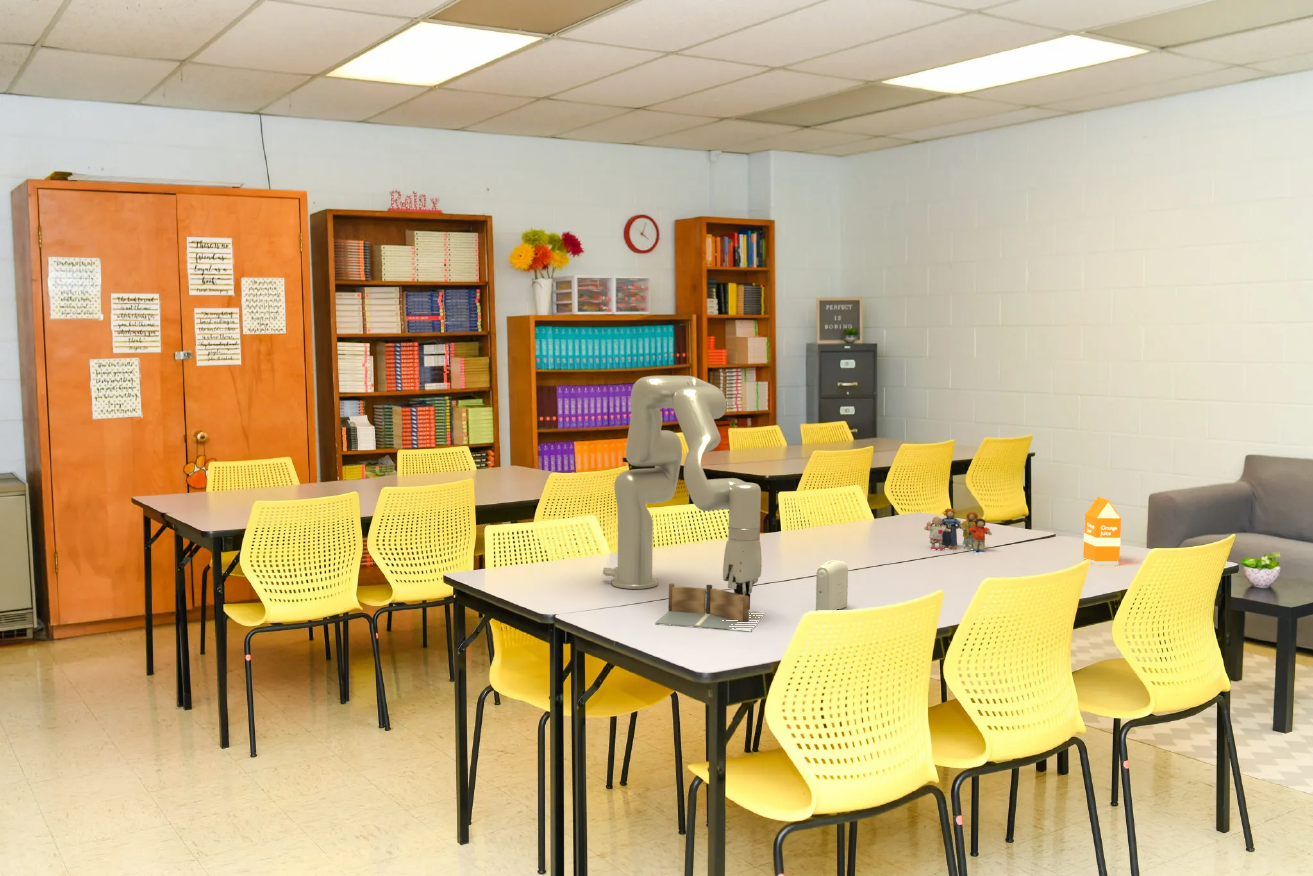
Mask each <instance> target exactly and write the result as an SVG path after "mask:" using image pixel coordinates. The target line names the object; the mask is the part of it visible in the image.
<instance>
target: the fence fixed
mask: <svg viewBox="0 0 1313 876" xmlns="http://www.w3.org/2000/svg"><path fill="white" fill-rule="evenodd" d="M705 586H706V588H704V587H702V588H701V587H692V586H691V587H689V586H677V585H676V586H675V583H668V605H667V609H668V610H667V612H668V611H675V612H688V613H701V614H705V608H706V614H710V590H711V589H713V584H706V585H705Z"/></svg>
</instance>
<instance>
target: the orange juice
mask: <svg viewBox="0 0 1313 876" xmlns="http://www.w3.org/2000/svg"><path fill="white" fill-rule="evenodd" d="M1121 526H1122V518H1121V516H1120V515H1119V513H1118V512H1117V510H1116V509H1115V508H1114V506H1113V504H1112V502H1111V500H1110V499H1107V498H1103V497H1100V496H1097V497H1096V498H1095V500H1094V501H1093V502H1092V504H1091V505H1090V506H1089V508H1088V509H1087V511H1086V512H1085V513H1084V528H1083V529H1084V532H1083V553H1082V554H1083V555H1082V556H1083V557H1084V558H1086V559H1091V560H1094V561H1117V560H1119V561H1120V555H1121V554H1120V553H1121V550H1120V549H1121V534H1122V533H1121V529H1122V527H1121ZM1086 559H1084V560H1086ZM1084 560H1083V561H1084Z"/></svg>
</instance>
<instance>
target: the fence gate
mask: <svg viewBox="0 0 1313 876" xmlns="http://www.w3.org/2000/svg"><path fill="white" fill-rule="evenodd" d="M749 612H750V610H749V596H745V595H741V594H736V593H734V592H732V591H727V590H723V589H717V588H715V587H714V588H713V587H712V589H711V590H710V614H714V615H718V616H722V617H726V618H730V619H734V620H738V621H742V622H748V621H749Z"/></svg>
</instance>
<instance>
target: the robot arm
mask: <svg viewBox="0 0 1313 876" xmlns="http://www.w3.org/2000/svg"><path fill="white" fill-rule="evenodd" d="M630 409H631V410H630V421H629V428H628V433H627V438H626V439H627V440H626V445H625V458H626V461H627V462H628V464H630V465H631V466H634V467H641V468H636V469H628V470H625V471H622V472H620V473H619V474H618V475H617V476H616V478H615V480H614V483H613V484H614V485H613V486H614V489H613V490H614V495H615V500H616V508H617V509H616V510H617V566H616V567H614V568H611V567H604V568H603V570H602V574H603V575H604V576H605V577H611V576H612V577H613V578H612V580H611V585H612V586H614V587H616V588H620V589H627V590H628V589H629V590H641V589H642V590H644V589H650V588H655V587H656V586H658V585H659V581H658V579H657V578H655V577H653V551H654V550H653V548H654V547H653V546H654V545H653V538H654V531H653V530H654V524H653V517H652V514H651V513H650V511H649V509H648V508H647V505H648V504H656V503H658V504H659V503H665V502H668V501H670V500H671V499H672V498H673V497H674V495H675V493H676V490H677V486H678V481H679V474H680V469H681V464H682V458H683V457H682V456H683V447H682V441H681V438H680V437H679V435H678V434H677V433H676V432H674V431H671V430H668V429H667V430H665V429H664V430H662V426H663V425H662V424H663V414H662V412H661V409H673V412H674V414H675V417H676V419H677V421H678V424H679V427H680V429H681V432H682V435H683V436H684V440H685V443H686V445H687V448H688V452H687V454H686V457H685V460H684V464H683V479H684V481H683V482H684V484H685V487H686V489H687V492H688V495H689V497H690V499H691V501H692V502H693V504H694V506H695V507H696V508H697V509H698V510H700V511H704V512H712V511H720V510H724V511H725V510H728V537H727V538H728V539H727V540H726V544H725V548H724V555H723V567H722V578H723V581H724V582H727V588H728V589H731V590H732V589H733V593H736V594H741V595H745V596H749V611H750V609H751V594H752V592H753V586H754V585H755V584H757V583H758V582H759V579H760V578H761V575H762V564H763V563H762V561H763V560H762V548H761V547H762V546H761V539H760V538H761V509H762V508H761V506H762V505H761V504H762V503H761V498H762V491H761V487H760V485H759V484H758V483H754V482H746V481H744V480H742V479H739V478H734V477H731V478H730V477H729V478H713V479H708V477H707V476H706V473H705V472H704V468H703V465H702V464H703V463H702V462H703V461H702V460H703V456H704V455H706V454H708V453H709V452H712V451H713V450H715V448H717V447H718V446H719V444H720V443H721V434H720V432H719V430H718V427H717V425H716V422H715V420H717V419H720V418H722V417H723V416H724V415H725V413H726V412H727V400H726V396H725V394H724V393H723V392H722V390H721V389H720V388H719V387H717V386H716V385H713V384H711V383H710V382H707V381H704V380H702V379H700V378H697V377H696V376H693V375H692V376H691V375H650V376H649V375H648V376H644V377H641V378H639V379H637V380H636V381H635V383H633V385H632V388H631V392H630ZM642 467H651V468H642ZM652 467H653V468H652Z"/></svg>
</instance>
